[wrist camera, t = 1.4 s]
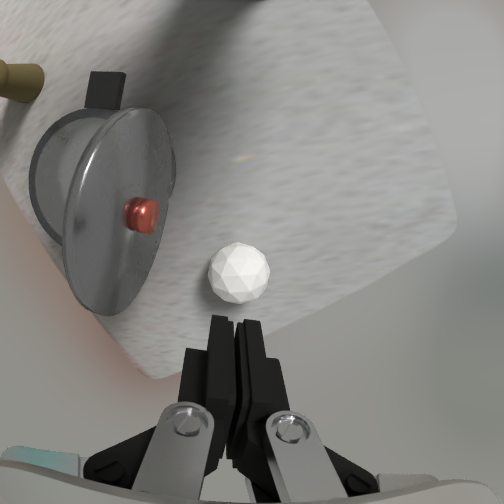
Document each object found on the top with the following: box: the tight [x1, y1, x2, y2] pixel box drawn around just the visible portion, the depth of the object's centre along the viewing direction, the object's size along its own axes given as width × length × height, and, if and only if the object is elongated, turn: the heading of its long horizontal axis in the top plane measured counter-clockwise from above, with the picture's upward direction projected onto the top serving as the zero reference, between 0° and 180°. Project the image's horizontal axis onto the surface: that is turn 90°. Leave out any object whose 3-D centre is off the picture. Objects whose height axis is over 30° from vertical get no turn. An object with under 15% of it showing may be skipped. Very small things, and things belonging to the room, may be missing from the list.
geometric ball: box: [208, 242, 270, 304], centre depth 42 cm, size 8×8×8 cm
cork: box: [0, 60, 44, 103], centre depth 28 cm, size 6×6×11 cm
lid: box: [62, 107, 172, 316], centre depth 24 cm, size 16×16×3 cm
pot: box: [29, 71, 176, 246], centre depth 35 cm, size 24×16×10 cm, turn 169°
